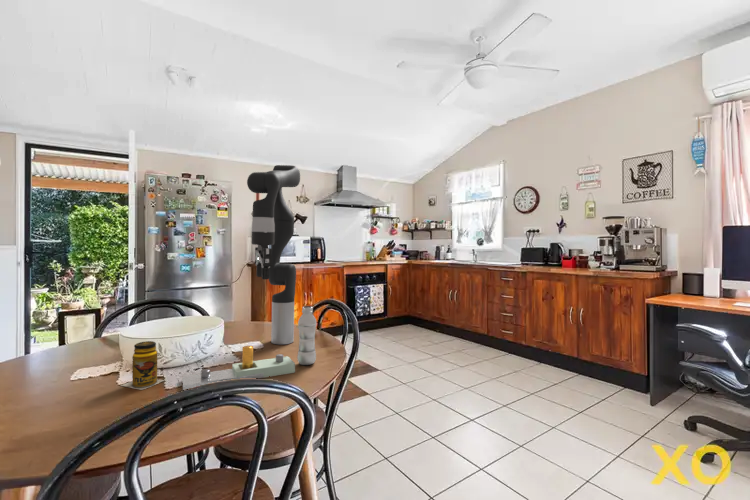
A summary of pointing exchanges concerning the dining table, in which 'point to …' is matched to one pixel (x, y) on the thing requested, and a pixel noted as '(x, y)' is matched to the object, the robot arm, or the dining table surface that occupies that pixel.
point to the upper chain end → (267, 367)
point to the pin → (247, 357)
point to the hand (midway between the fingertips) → (262, 278)
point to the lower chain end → (212, 377)
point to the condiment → (144, 366)
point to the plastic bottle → (307, 337)
